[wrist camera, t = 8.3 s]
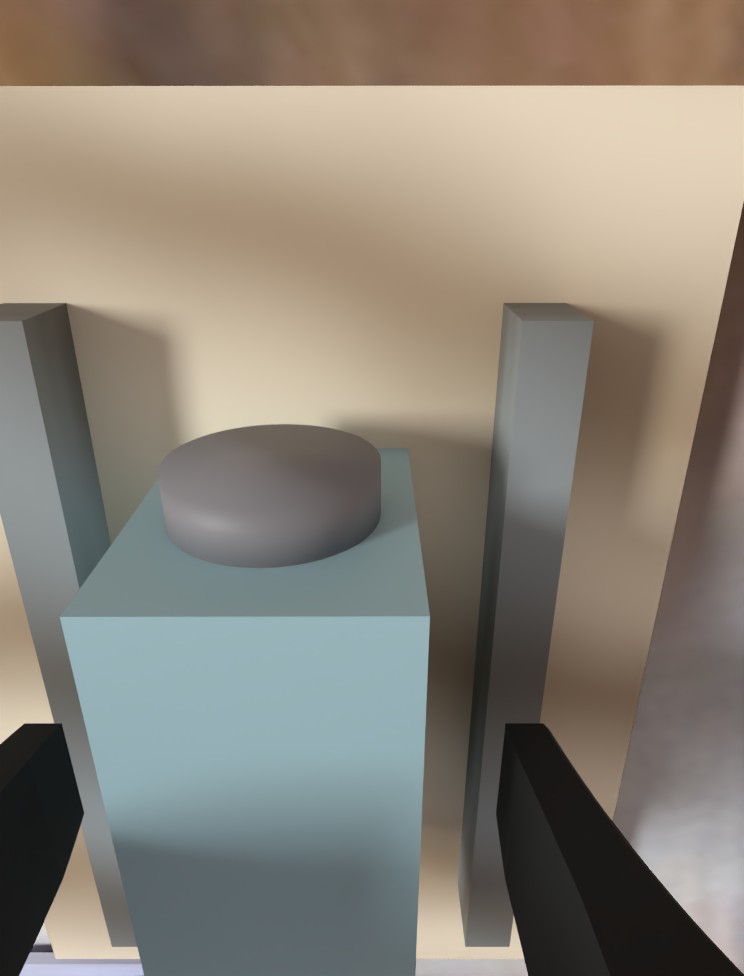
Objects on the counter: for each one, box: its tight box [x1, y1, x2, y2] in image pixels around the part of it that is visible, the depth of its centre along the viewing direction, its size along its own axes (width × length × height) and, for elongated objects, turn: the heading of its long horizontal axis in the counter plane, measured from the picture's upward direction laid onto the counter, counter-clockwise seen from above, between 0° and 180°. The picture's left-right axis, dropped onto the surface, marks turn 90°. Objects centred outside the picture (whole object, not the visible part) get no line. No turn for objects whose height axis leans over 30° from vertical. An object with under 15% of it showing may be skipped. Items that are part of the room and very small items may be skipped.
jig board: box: [0, 86, 744, 959], centre depth 13 cm, size 20×14×2 cm
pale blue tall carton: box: [60, 424, 430, 976], centre depth 11 cm, size 10×4×5 cm, turn 0°
